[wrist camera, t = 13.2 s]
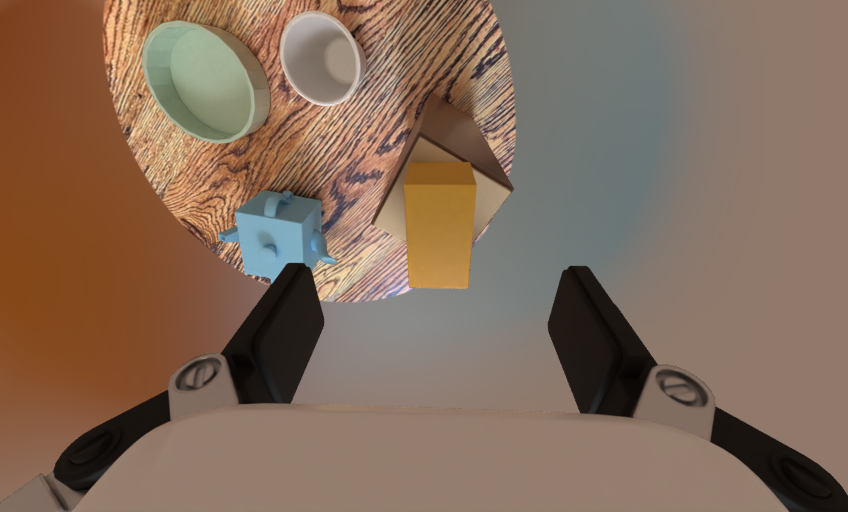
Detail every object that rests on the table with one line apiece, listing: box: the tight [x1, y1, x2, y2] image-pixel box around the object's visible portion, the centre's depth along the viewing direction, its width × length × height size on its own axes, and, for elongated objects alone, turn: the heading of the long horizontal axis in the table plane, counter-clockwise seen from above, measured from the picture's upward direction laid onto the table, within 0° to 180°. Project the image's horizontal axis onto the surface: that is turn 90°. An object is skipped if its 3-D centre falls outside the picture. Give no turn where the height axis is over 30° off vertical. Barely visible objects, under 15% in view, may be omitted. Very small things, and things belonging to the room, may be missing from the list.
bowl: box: [142, 20, 271, 144], centre depth 41 cm, size 13×13×4 cm
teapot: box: [218, 190, 337, 283], centre depth 49 cm, size 16×18×11 cm
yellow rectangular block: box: [404, 162, 477, 289], centre depth 19 cm, size 6×4×4 cm, turn 1°
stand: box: [371, 92, 514, 244], centre depth 32 cm, size 7×7×28 cm
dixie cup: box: [280, 11, 367, 106], centre depth 36 cm, size 8×8×10 cm
